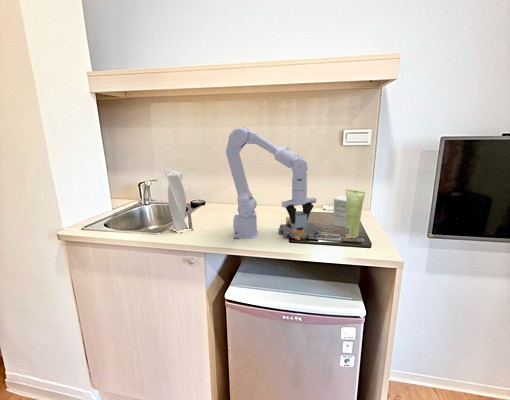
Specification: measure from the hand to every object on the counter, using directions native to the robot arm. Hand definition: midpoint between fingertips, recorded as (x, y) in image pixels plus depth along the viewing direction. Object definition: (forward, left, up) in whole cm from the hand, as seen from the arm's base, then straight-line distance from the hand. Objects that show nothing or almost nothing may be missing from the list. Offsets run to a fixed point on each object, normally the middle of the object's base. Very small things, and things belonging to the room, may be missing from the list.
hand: (299, 222), depth 112 cm
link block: (0, 0, -2) cm, 2 cm away
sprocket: (0, +4, -6) cm, 7 cm away
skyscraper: (-53, +1, -7) cm, 53 cm away
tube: (+21, +2, -7) cm, 22 cm away
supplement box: (+19, +17, -7) cm, 26 cm away
